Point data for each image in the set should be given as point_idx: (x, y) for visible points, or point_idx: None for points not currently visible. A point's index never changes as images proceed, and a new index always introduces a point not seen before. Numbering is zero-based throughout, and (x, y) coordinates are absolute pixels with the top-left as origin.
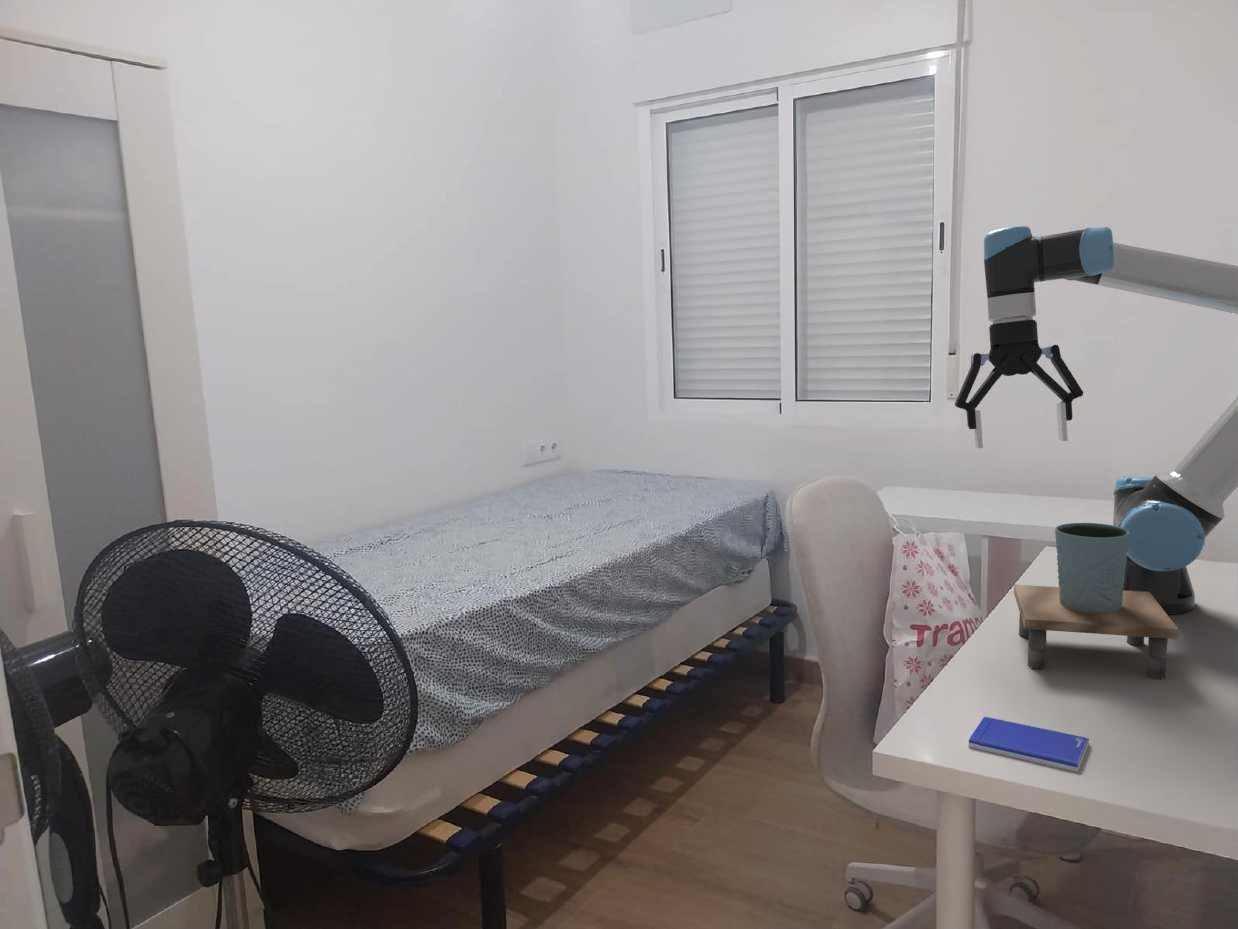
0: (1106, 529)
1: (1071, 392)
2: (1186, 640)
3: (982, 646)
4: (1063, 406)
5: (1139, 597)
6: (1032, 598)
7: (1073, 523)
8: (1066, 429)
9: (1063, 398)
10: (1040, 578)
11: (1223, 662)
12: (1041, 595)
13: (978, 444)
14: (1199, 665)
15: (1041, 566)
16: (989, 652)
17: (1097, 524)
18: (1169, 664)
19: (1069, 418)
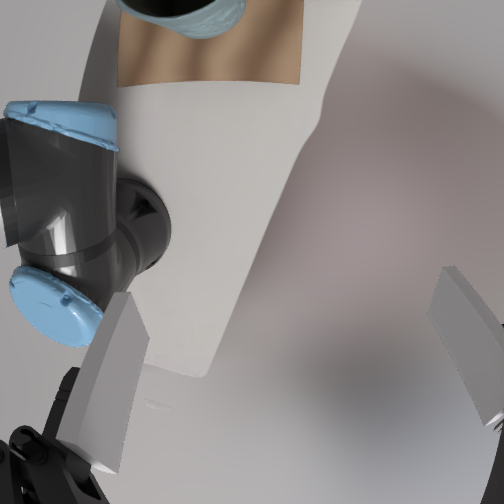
0: (137, 11)
1: (29, 479)
2: (108, 98)
3: (337, 31)
4: (69, 423)
5: (133, 57)
6: (282, 19)
7: (196, 10)
8: (100, 326)
9: (58, 463)
10: (226, 294)
11: (94, 45)
12: (266, 33)
13: (461, 274)
14: (116, 28)
15: (220, 332)
16: (331, 14)
17: (148, 16)
18: None
19: (75, 374)
